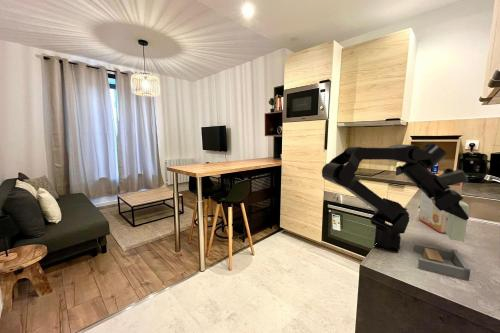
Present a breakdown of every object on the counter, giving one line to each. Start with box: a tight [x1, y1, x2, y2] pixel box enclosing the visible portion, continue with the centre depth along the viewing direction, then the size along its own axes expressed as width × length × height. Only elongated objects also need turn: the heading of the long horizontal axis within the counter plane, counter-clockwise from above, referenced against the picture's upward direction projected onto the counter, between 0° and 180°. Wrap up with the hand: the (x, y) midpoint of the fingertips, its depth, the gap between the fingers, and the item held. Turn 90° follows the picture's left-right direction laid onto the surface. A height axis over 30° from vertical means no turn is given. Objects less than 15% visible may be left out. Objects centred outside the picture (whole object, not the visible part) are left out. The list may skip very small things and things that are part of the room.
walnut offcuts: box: [422, 248, 445, 264], centre depth 60 cm, size 4×8×3 cm, turn 149°
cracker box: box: [418, 173, 464, 234], centre depth 85 cm, size 14×6×21 cm, turn 168°
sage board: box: [445, 200, 470, 243], centre depth 64 cm, size 3×5×11 cm, turn 148°
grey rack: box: [412, 242, 471, 281], centre depth 60 cm, size 10×11×3 cm
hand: (464, 216), depth 63 cm, fingers closed on sage board, 5 cm apart
